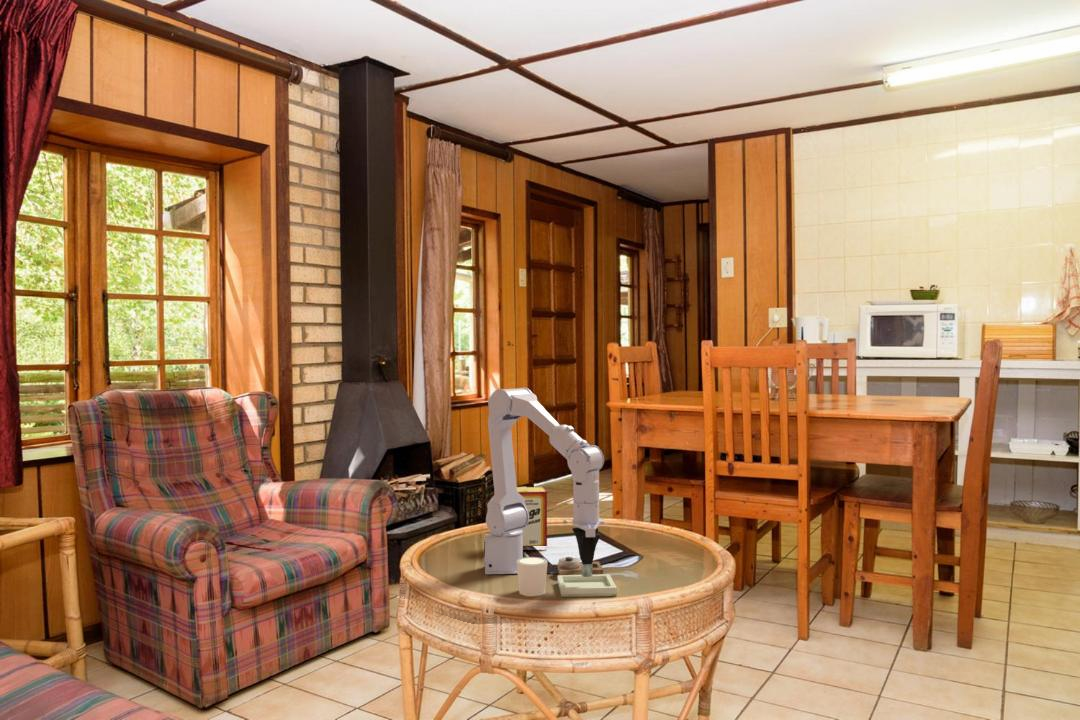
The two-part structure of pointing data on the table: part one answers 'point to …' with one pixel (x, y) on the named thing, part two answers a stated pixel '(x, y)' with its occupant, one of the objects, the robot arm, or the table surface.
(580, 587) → the tray
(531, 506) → the baking soda box
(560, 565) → the block
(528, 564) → the cream cylinder
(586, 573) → the pin
